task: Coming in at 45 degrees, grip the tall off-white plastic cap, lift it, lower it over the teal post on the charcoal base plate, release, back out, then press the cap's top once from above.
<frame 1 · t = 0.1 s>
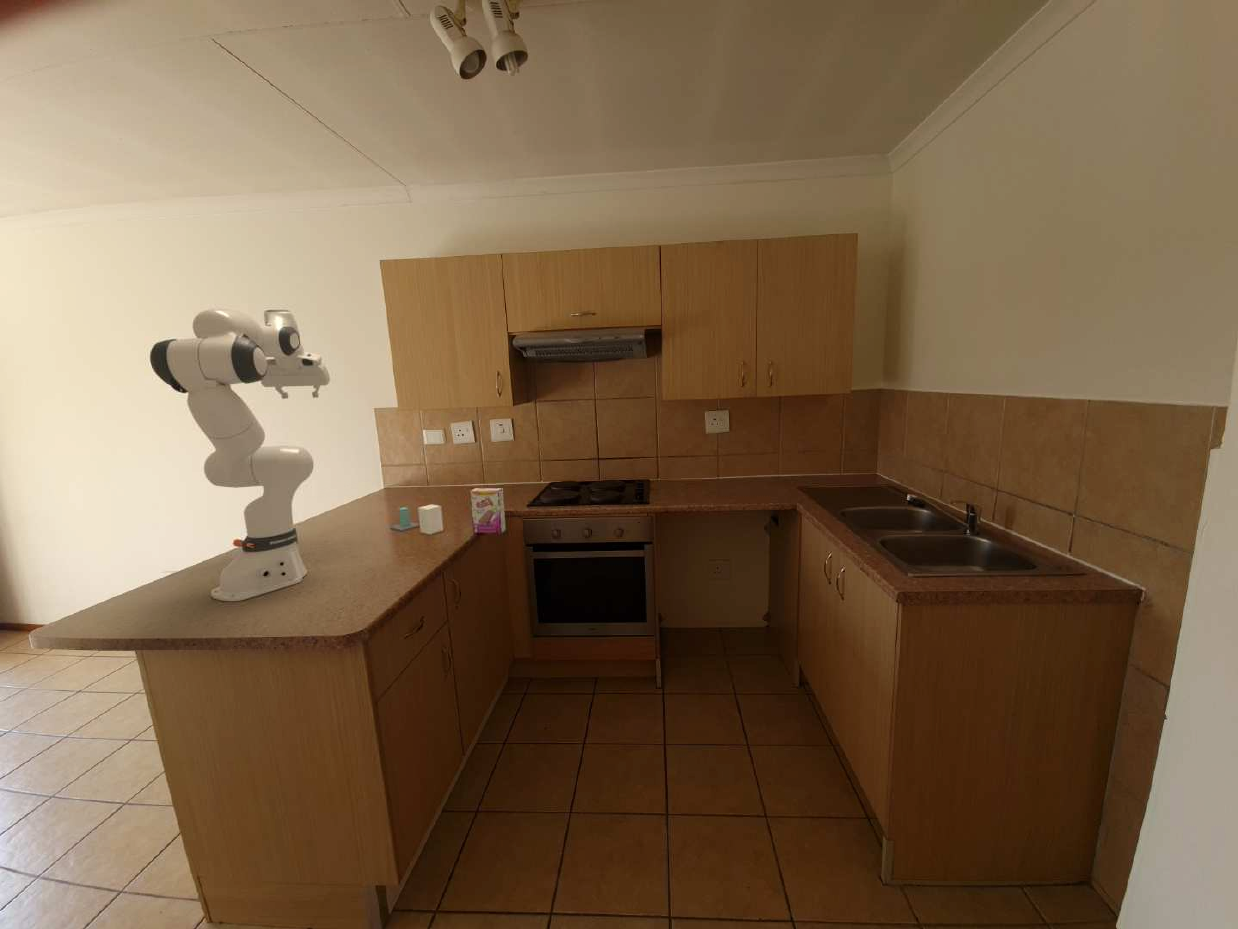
hand: (300, 397, 169), 52 cm above the countertop, tool tilted 20°, fingers open, 8 cm apart
post: (405, 527, 190), on the countertop
cap: (431, 531, 184), on the countertop
candy bar box: (489, 532, 181), on the countertop
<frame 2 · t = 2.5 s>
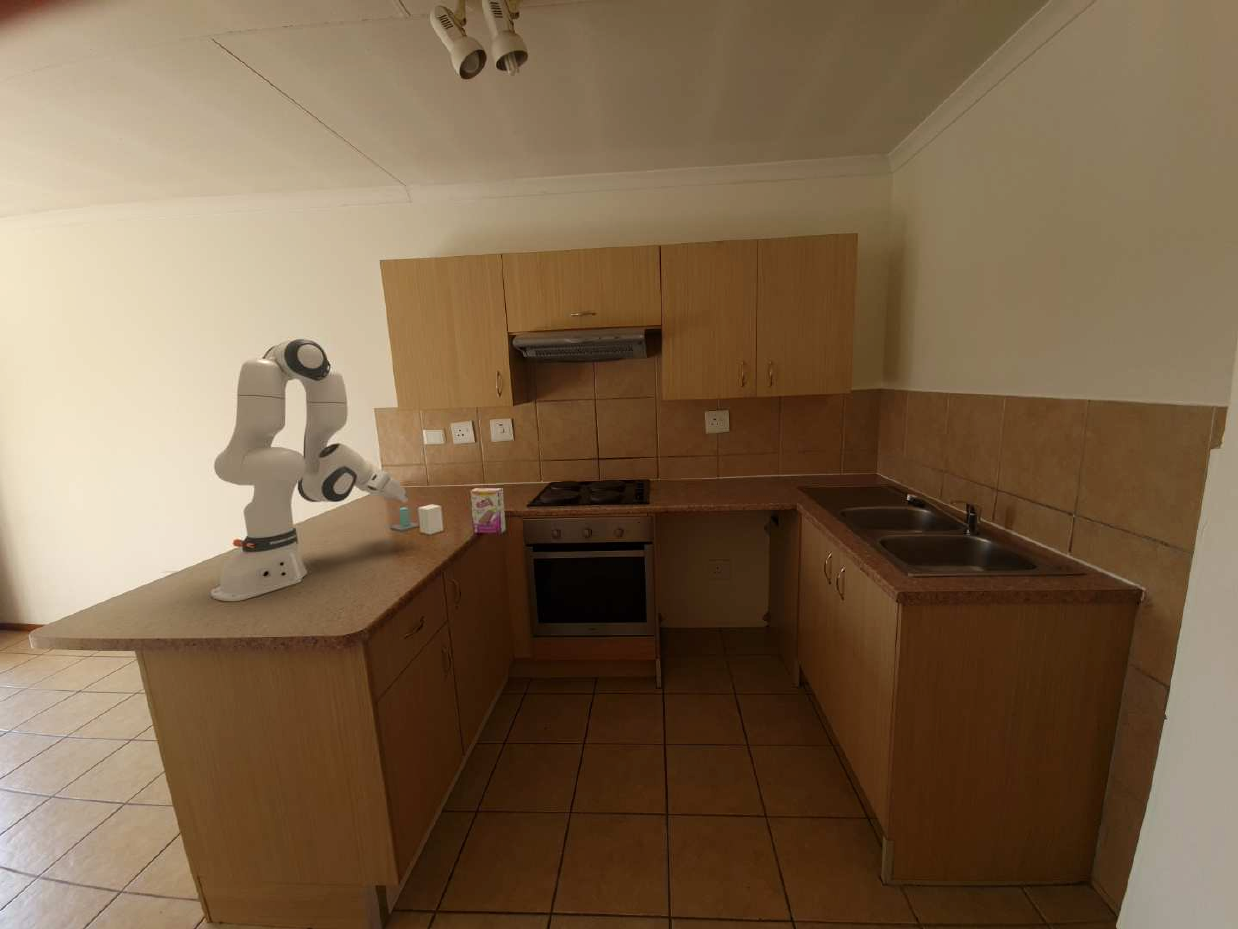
hand: (397, 499, 172), 15 cm above the countertop, tool tilted 45°, fingers open, 8 cm apart
nothing on the countertop moved.
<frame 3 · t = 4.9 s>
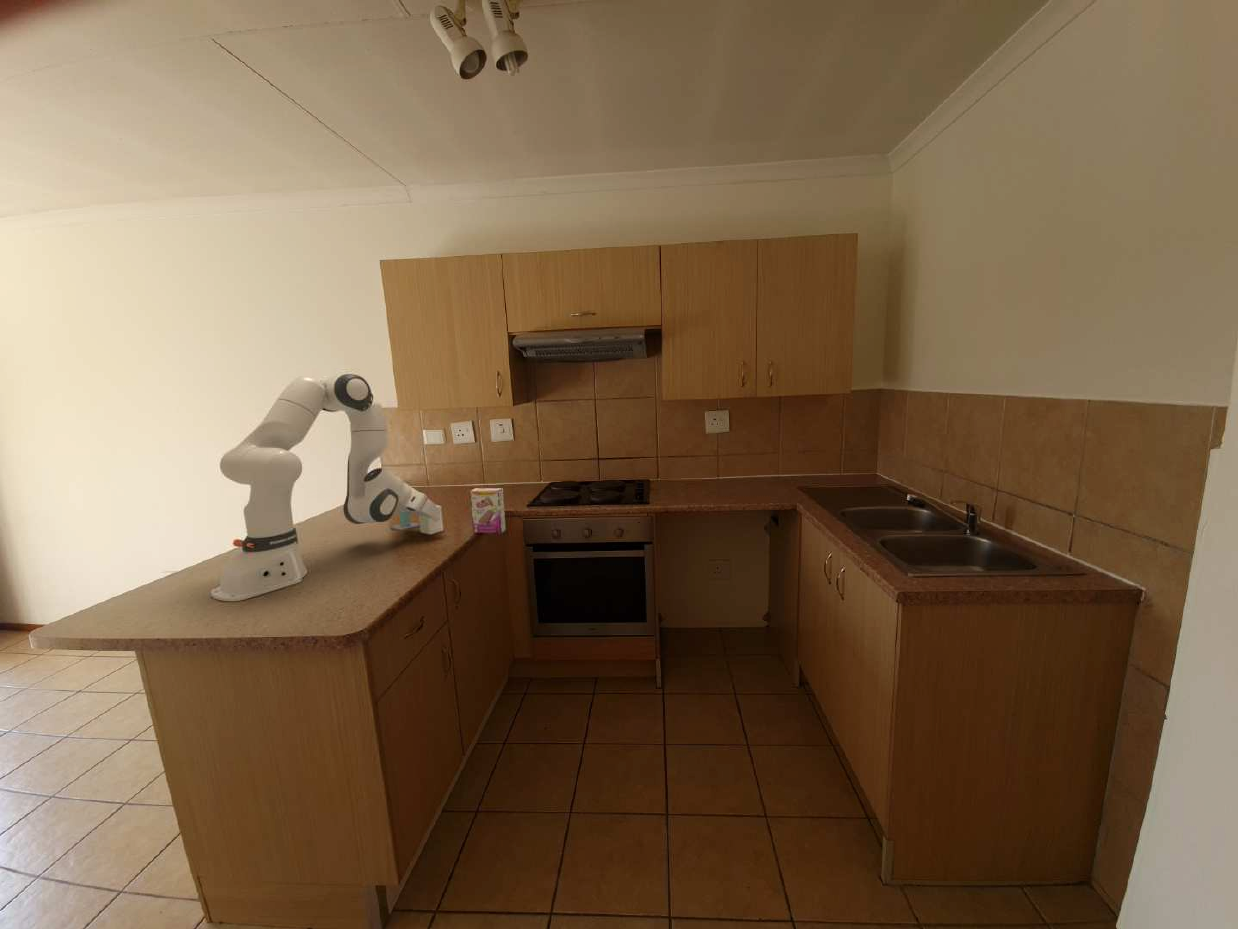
hand: (432, 518, 184), 5 cm above the countertop, tool tilted 45°, fingers closed on cap, 6 cm apart
cap: (432, 531, 184), on the countertop, touching gripper
everything else where it was.
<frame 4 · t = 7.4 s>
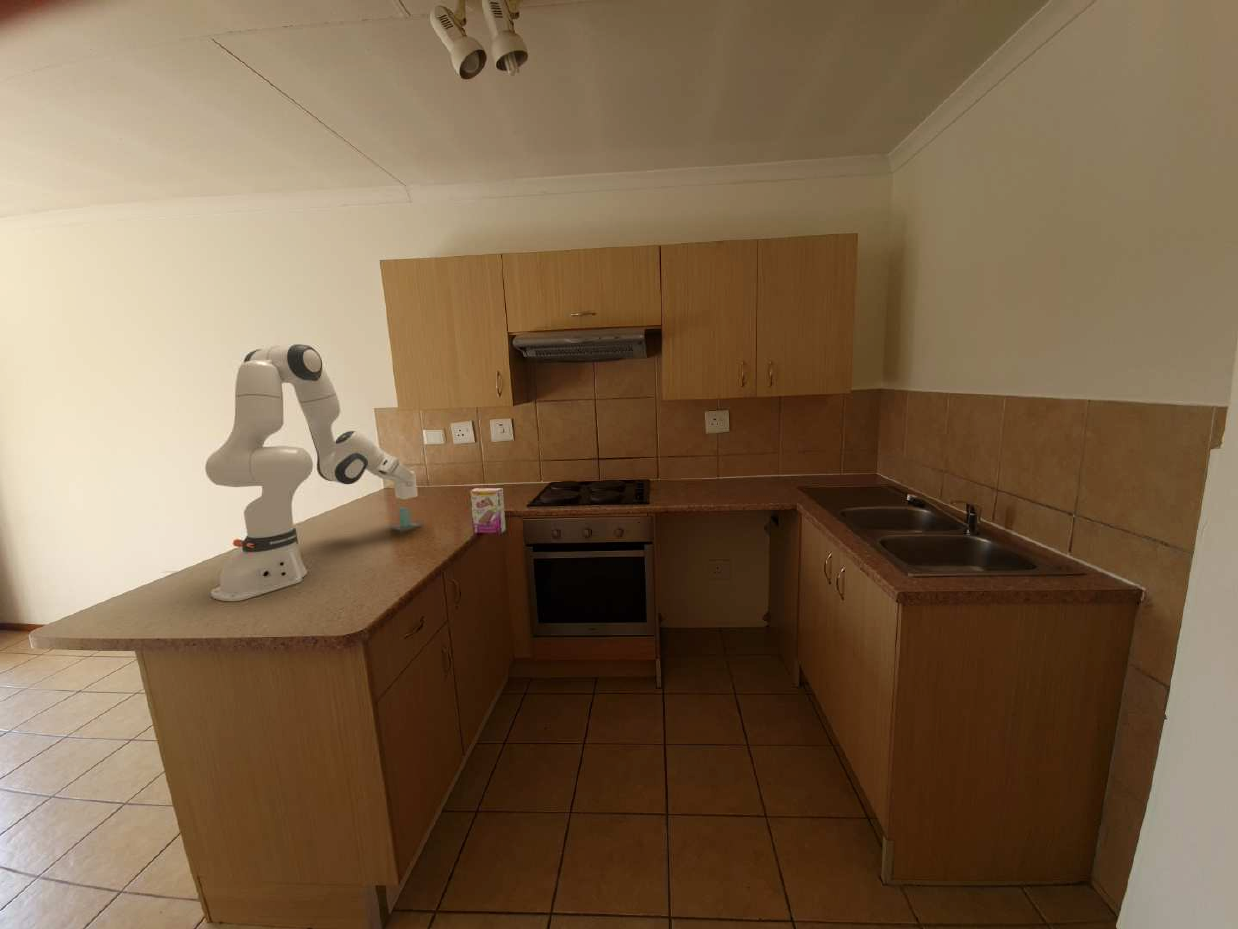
hand: (406, 484, 187), 17 cm above the countertop, tool tilted 45°, fingers closed on cap, 6 cm apart
cap: (406, 496, 188), point 13 cm above the countertop, touching gripper
everything else where it was.
when the fingers open (6 cm above the countertop, at t = 10.1 s): cap stays where it is, resting on post.
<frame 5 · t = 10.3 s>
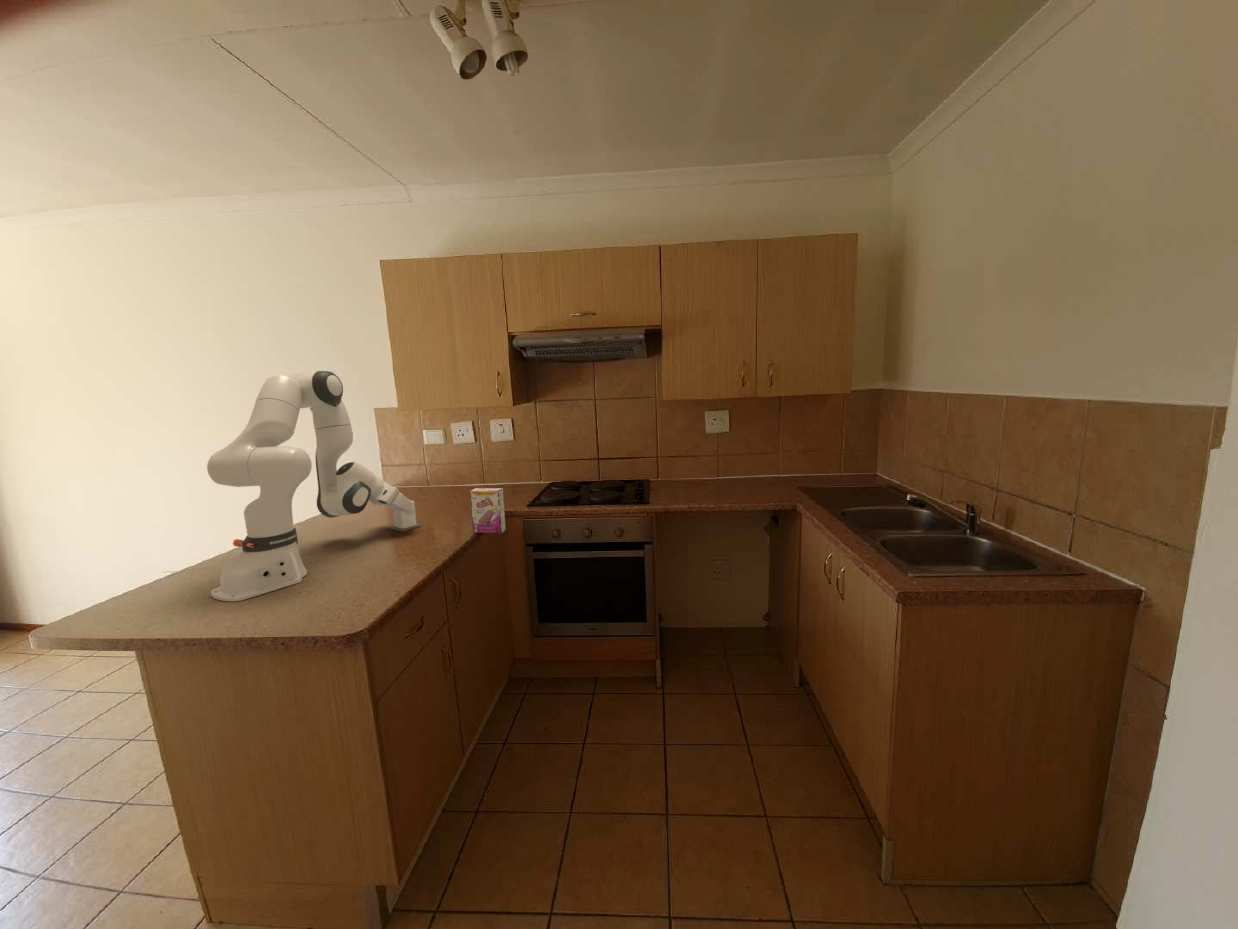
hand: (405, 511, 190), 6 cm above the countertop, tool tilted 45°, fingers open, 7 cm apart
cap: (405, 525, 190), point 1 cm above the countertop, touching post
everything else where it was.
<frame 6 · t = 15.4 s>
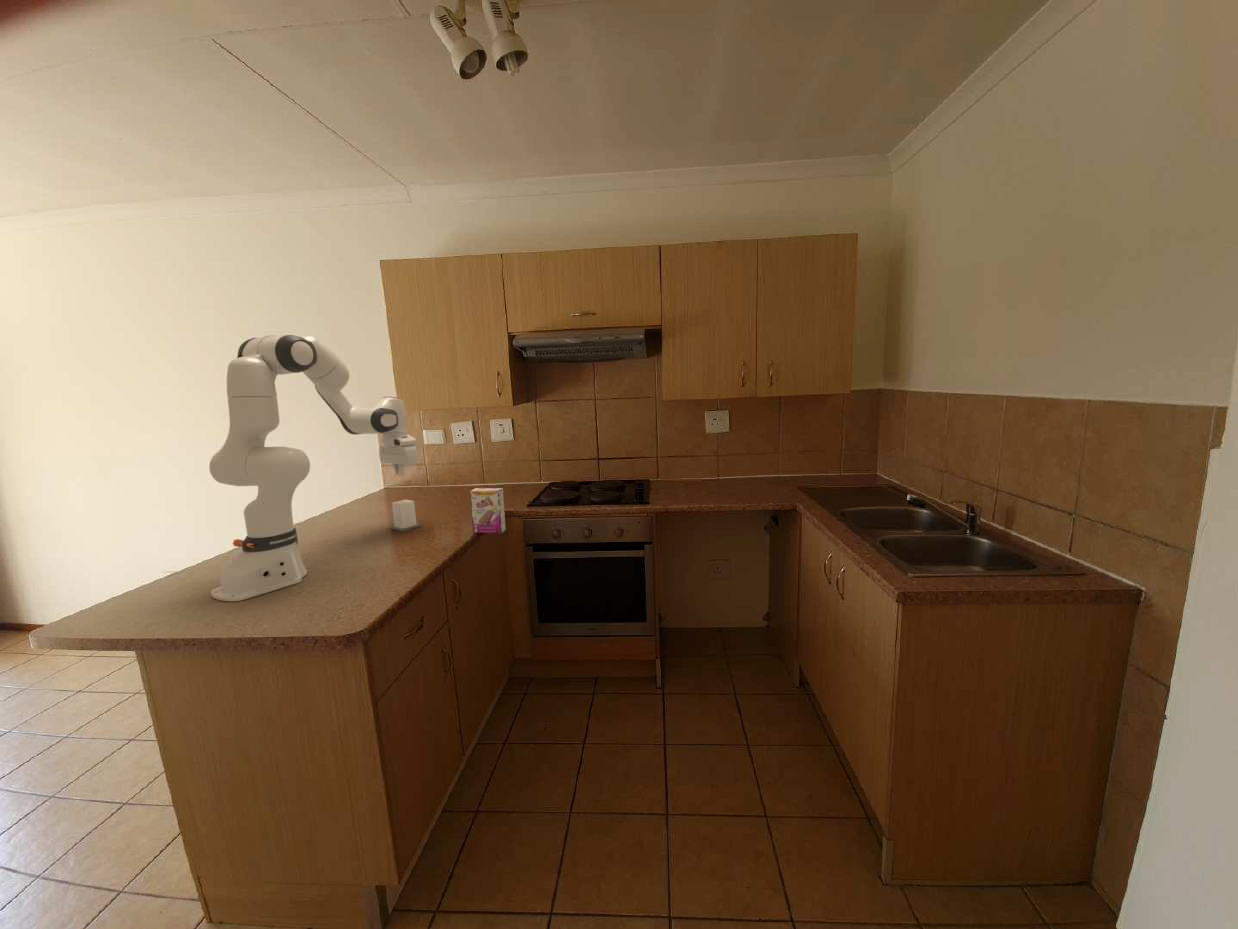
hand: (399, 475, 187), 21 cm above the countertop, tool pointing down, fingers closed
nothing on the countertop moved.
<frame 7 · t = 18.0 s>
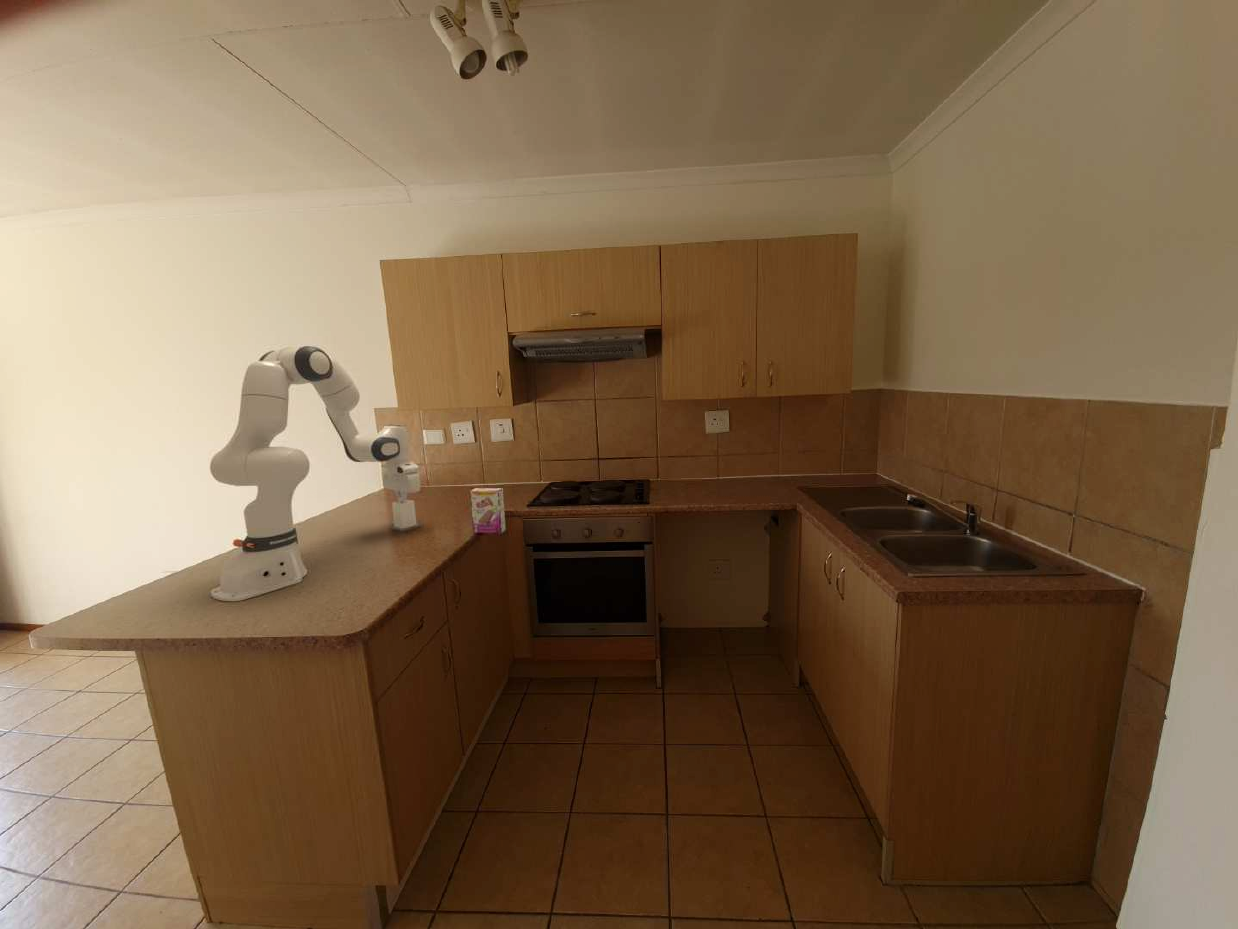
hand: (402, 501, 189), 11 cm above the countertop, tool pointing down, fingers closed
nothing on the countertop moved.
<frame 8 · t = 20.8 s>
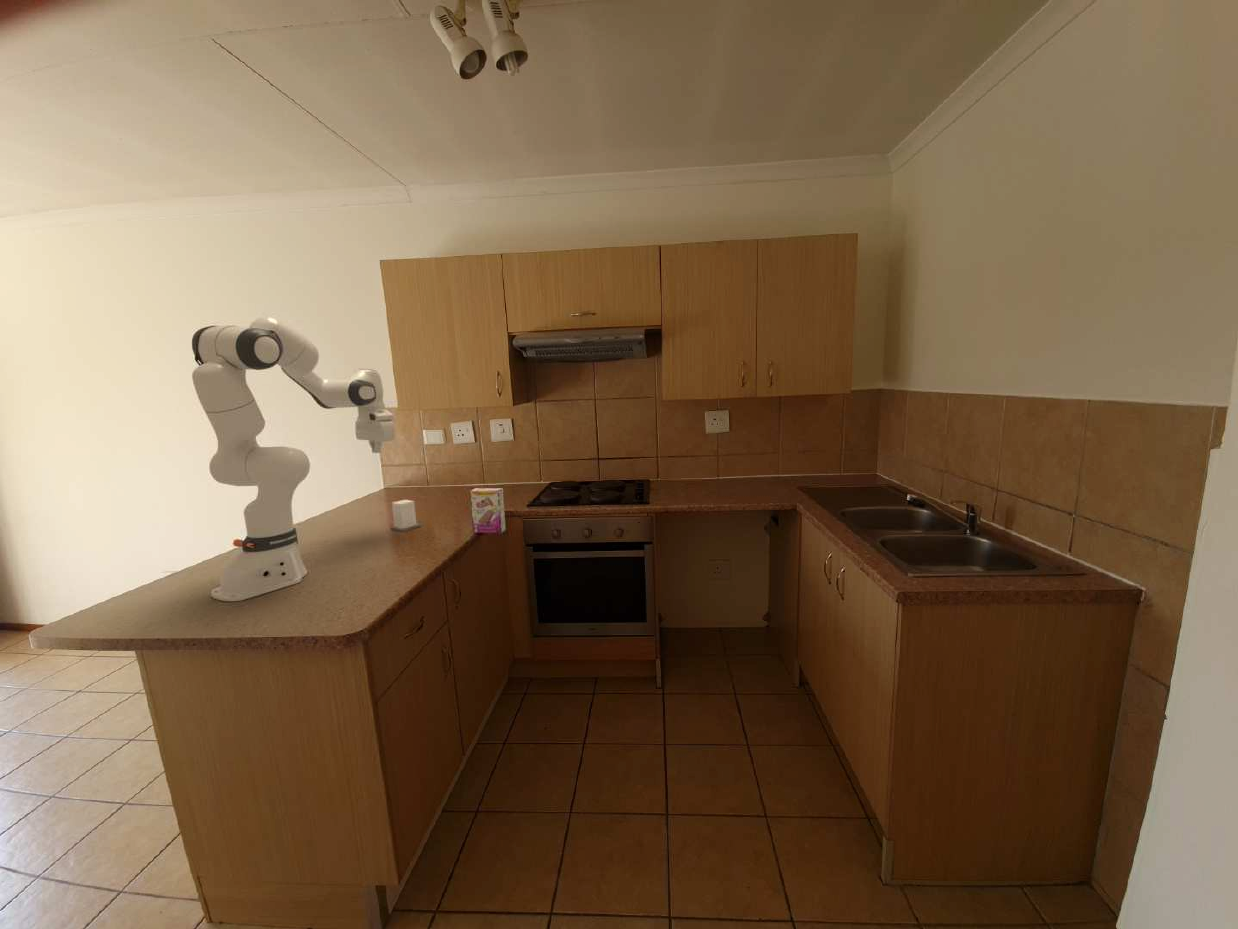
hand: (376, 452, 177), 31 cm above the countertop, tool pointing down, fingers closed
nothing on the countertop moved.
at the end: cap 0.0 cm from the post (horizontally); cap point 0.8 cm above the countertop; cap tilted 0° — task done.
